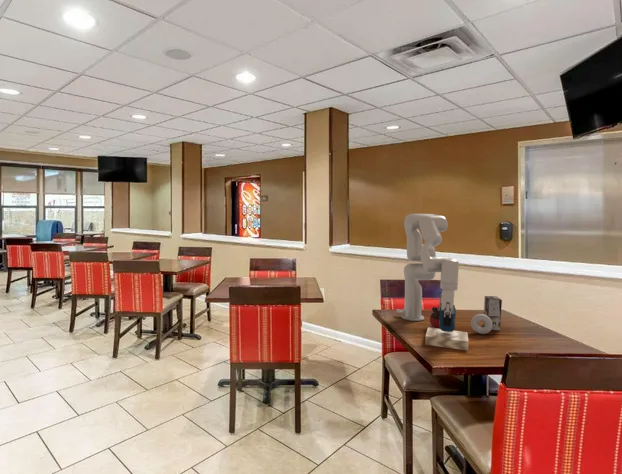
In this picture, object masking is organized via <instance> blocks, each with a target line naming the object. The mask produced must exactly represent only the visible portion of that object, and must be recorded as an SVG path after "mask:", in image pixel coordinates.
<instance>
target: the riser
mask: <svg viewBox="0 0 622 474" xmlns="http://www.w3.org/2000/svg"><path fill="white" fill-rule="evenodd" d="M424 343H425V345H426V346H433V347H442V348H448V349H453V350H462V351H469V334H468V332H467V331H461V330H454V331H453V332H445V331H442V330H441V329H437V328H430V326H429V327H427V330H426V333H425V342H424Z"/></svg>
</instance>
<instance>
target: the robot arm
mask: <svg viewBox="0 0 622 474" xmlns="http://www.w3.org/2000/svg"><path fill="white" fill-rule="evenodd" d="M403 224H404V230H405V235H406V258H407V259H408V260H409V261H412V262H415V263H411V262H410V263H408V264H406V265H405V266H404V268H403V275H404V276H403V277H404V305H403V306H404V307H403V308H402V309H398V308H396V313H397V314H401V316H400V317H401V319H403V320H406V321H412V322H420V321H423V320H425V317H424V315H422V307H423V305H422V304H423V301H422V300H423V287H422V285H421V284H420V282H419V281H431V280H434V279H435V277H436V273H440V282H439V283H440V285H439V286H440V287H439V288H440V289H441V290H442V292H441V303H442V305H441V310H442V311H443V310H444V309H446V310H445V311H444V321H443V325H444V326H451V312H452V311H453V305H455V292H456V291H458V288H459V287H458V286H459V285H458V284H459V265H460V264H459V261H458V260H457V259H454V258H452V257H450V256H436V255H437V254H436V249H435V248H436V247H437V246H439V245H440V244H441V243H442V241H443V237H442V234H441V233H443V232H446V231H447V229H448V226H449V225H448V224H449V223H448V220H447V218H446V217H445V216H443V215H440V214H435V213H410V214H407V215H406V216H405V219H404V222H403ZM423 241H424V243H423ZM416 262H417V263H416ZM420 262H421V263H420ZM446 303H447V306H446ZM449 304H450V306H449ZM449 309H450V311H449ZM449 312H450V313H449ZM449 315H450V316H449ZM445 316H446V317H445Z"/></svg>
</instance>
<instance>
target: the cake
mask: <svg viewBox="0 0 622 474" xmlns="http://www.w3.org/2000/svg"><path fill="white" fill-rule="evenodd" d="M438 302H439V303H438V304H439V305H438V307H437V306H432V308H431V311H432V313H431V314H430V317H429V323H430V325H429V328H437V329H440V327H439V319H440V307H441V304H442V294H439V300H438Z"/></svg>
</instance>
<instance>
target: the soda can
mask: <svg viewBox="0 0 622 474" xmlns="http://www.w3.org/2000/svg"><path fill="white" fill-rule="evenodd" d="M441 305H442V304H441ZM446 306H447V303H446ZM449 306H450V304H449ZM445 310H446V309H444V310H443V311H442V310H441V307H440V319H439V327H440V329H441V330H442V331H445V332H453V331H455V329H456V314H457V309H456V306H455V304H454V305H453V311H452V312H451V326H444V325H443V321H444V311H445ZM449 311H450V309H449ZM449 313H450V312H449ZM449 316H450V315H449ZM445 317H446V316H445Z"/></svg>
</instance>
